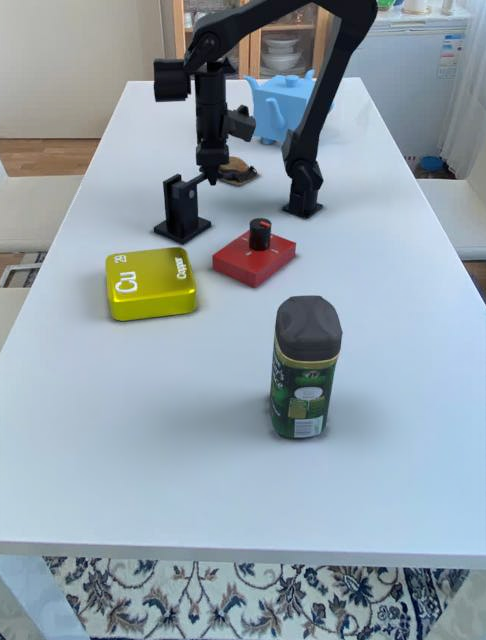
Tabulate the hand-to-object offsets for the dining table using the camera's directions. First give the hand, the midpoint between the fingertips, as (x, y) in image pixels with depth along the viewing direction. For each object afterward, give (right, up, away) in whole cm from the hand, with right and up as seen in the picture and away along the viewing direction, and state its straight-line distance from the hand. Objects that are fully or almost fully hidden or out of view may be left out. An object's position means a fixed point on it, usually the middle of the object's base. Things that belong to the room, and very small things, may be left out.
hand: (213, 181), depth 116 cm
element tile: (-11, -26, -14) cm, 32 cm away
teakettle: (+19, +23, +30) cm, 42 cm away
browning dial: (+9, -16, -10) cm, 21 cm away
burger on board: (+5, +8, +17) cm, 19 cm away
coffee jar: (+12, -48, -35) cm, 61 cm away
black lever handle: (-4, -2, -3) cm, 5 cm away
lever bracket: (-6, -10, 0) cm, 12 cm away
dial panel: (+8, -19, -9) cm, 22 cm away
